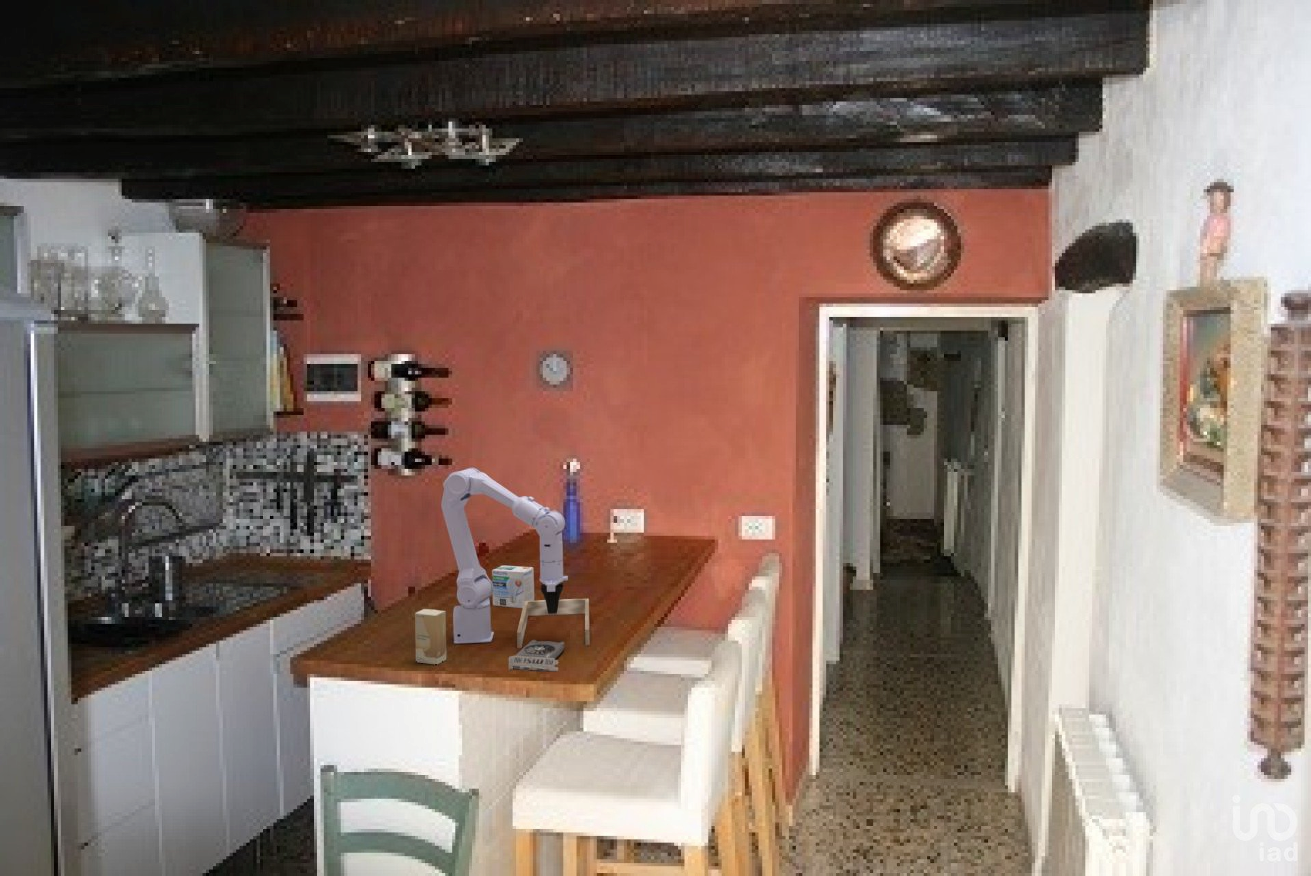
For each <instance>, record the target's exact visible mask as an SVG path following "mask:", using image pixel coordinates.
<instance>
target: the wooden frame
mask: <svg viewBox="0 0 1311 876" xmlns="http://www.w3.org/2000/svg"><path fill="white" fill-rule="evenodd" d="M589 600H590V599H589V598H571V599H568V598H567V599H559V603H558V610H557V613H556V614H549V613H548V610H547V605H546V601H545V599H543V600H539V599H538V600H534V601H524V605H523V608H521V609H522V610H521V615H520V620H519V623H518V627H517V630H516V642H517V643H516V644H517V649H523V647H522V646H523V642H524V638H525V633H526V628H527V624H528V618H529V616H530V617H531V616H533V617H534V616H555V615H556V616H557V615H559V616H562V615H582V614H584V630H585V631H584V632H585V633H584V634H585V635H584V638H585V646H590V645H591V644H590V639H591V638H590V604H589V603H590V601H589Z"/></svg>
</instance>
